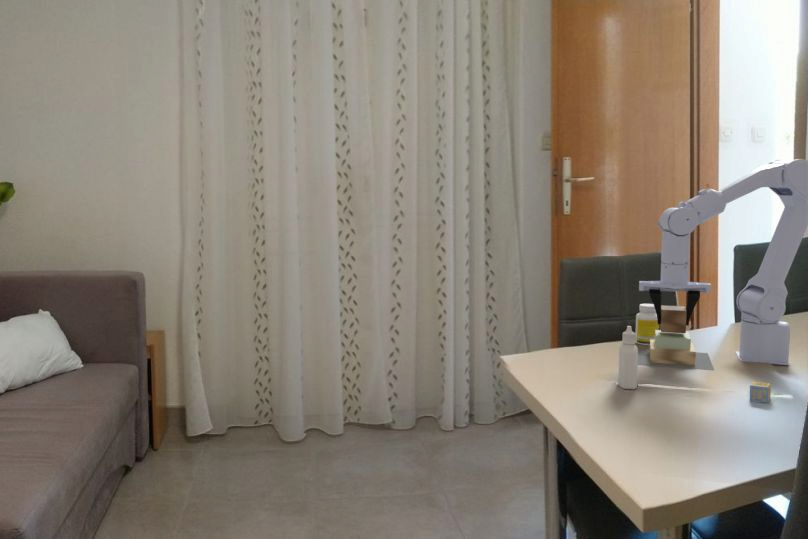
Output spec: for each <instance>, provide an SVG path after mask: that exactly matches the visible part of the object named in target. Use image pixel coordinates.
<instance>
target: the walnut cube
mask: <svg viewBox="0 0 808 539" xmlns="http://www.w3.org/2000/svg"><path fill="white" fill-rule="evenodd" d="M686 313H687V311H686V305H685V306H684V305H683V306H682V305H680V306H679V305H663V304H661V324H659V330H661V332H668V333H686V332H687V325H686Z"/></svg>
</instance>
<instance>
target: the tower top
mask: <svg viewBox="0 0 808 539" xmlns="http://www.w3.org/2000/svg"><path fill="white" fill-rule="evenodd" d="M691 342H692V338H691V335H690V333H689V331H686V333H668V332H661V329H659V330H655V347H656V348H660V349H676V350H690V347H691Z"/></svg>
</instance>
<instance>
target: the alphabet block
mask: <svg viewBox="0 0 808 539" xmlns="http://www.w3.org/2000/svg"><path fill="white" fill-rule="evenodd" d="M771 391H772V383H769V382H762V381H752V383H750V385H749V401H750V402H755V403H756V402H757V403H764V404H768V403H769V401H771V398H772V397H771V396H772V395H771V393H772V392H771Z"/></svg>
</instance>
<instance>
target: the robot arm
mask: <svg viewBox="0 0 808 539" xmlns="http://www.w3.org/2000/svg"><path fill="white" fill-rule="evenodd" d="M761 188H768V189H770V190H771V191H772V192H773V193H774V194H775V195H777V196H778V198H779V199H780V201H781V203H782V204H783V206H784V208H783V211H782V213H781V216H780V218H779V220H778V223H777V225H776V228H775V230H774V233H773V235H772V237H771V239H770V241H769V244H768V246H767V247H768V248H767V250H766V251H765V255H764V256H763V260H762V262H761V264H760V265H759V266H760V267H759V269H758V272H757V273H756V274H755V275H754V276H753V277H751V278H750V279H748V281H747V284H746V285H745V287H744V288H743V289H742V290H740V291H739V293H738V295H737V296H736V300H735V301H736V302H735V304H736V307H737V309H739V311H740V312H741V314H740V316H741V317H740V319H741V320H740V334H739V335H740V336H739V337H740V338H739V350H737V351H735V355H736V356H737V358H738V360H739V361H740V362H748V363H749V362H750V363H751V362H753V363H765V364H771V365H781V366H789V365H790V363H789V357H790V356H789V355H790V338H791V328H790V324H789V322H787V321H781V320H780V319H781V318H782V317H783V316H784V315H785V312H786V308H787V307H786V306H787V305H786V300H787V297H788V294H789V293H788V289H787V287H786V284H785V281H786V278H787V276H788V274H789V271H790V269H791V267H792V264H793V261H794V259H795V257H796V255H797V252H798V250H799V247H800V245H801V242H802V241H803V238H804V237H805V236H804V235H805V233H806V232H807V228H808V160H807V159H803V158H796V159H789V160H788V159H787V160H783V159H774V160H772V161H770V162H769V163H767V164H763V165H761V166H760V165H759V167H757V168H755V169H753V170H751V171H750V172H749V173H747V174H745V175H743V176H741V177H740V178H738V179H736V180H735V181H733V182H731V183H729V184H728V185H726V186H724V187H722V188H721V189H719V190H715V189H712V188H710V189H701V190H698V191H697V193H698V195H696V196H694V197H692V198H690V199H688V200H686V201H683V200H681V201H680V202H678V204H677V205H678V207H669V208H666V209H665V210H664V211H663V212H662V214H660V217H659V219H657V224H658V227H659V229H660V230H661V231H662V233H661V234H662V235H661V236H662V237H661V256H660V261H661V262H660V280H648V281H647V280H639V281H638V283H639V284H638V291H639V292H644V291H647V292H648V294H649V297H650V299H651V301H652V302H651V303H652V304H654V307H655V310H656V314H657V322H658V324H659V325H660V324H661V305H662V292H677V293H679V292H681V293H685V297H686V298H685V308H686V311H687V313H686V326H689V325H690V321H691V318H692V317H691V316H692V314H693V311H694V310H695V307H696V305H697V303H698V302H699V300H700V297H701V293H705V294H711V293H712V292H711V291H712V284H711V283H710V282H697V281H695V282H694V281H689V280H690V257H691V256H690V255H691V252H690V251H691V233H693V231H694V230H695V229H696V227H697V226H699V225H701V224H703V223H705V222H707V221H709V220H710V219H712V218H714V217H716V216H718V215H720V214H723V213H724V212H725V210H726V207H727V205H728V204H729V203H732V202H733V201H736V200H738V199H739V198H741V197H744V196H747V195H749V194H750V193H752V192H755V191H757V190H759V189H761ZM779 320H780V321H779Z"/></svg>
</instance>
